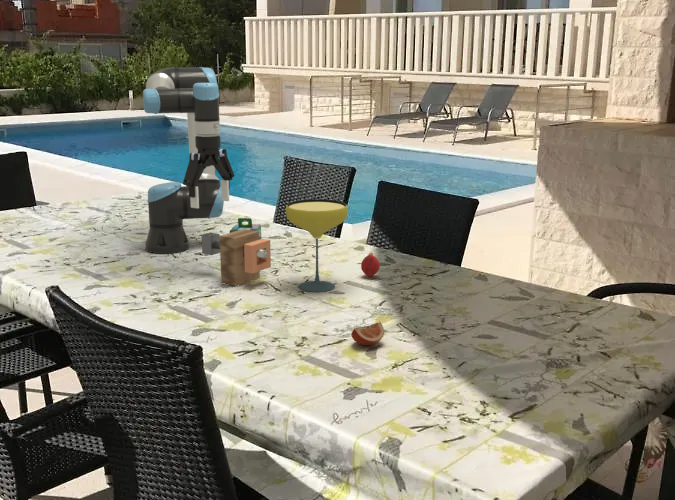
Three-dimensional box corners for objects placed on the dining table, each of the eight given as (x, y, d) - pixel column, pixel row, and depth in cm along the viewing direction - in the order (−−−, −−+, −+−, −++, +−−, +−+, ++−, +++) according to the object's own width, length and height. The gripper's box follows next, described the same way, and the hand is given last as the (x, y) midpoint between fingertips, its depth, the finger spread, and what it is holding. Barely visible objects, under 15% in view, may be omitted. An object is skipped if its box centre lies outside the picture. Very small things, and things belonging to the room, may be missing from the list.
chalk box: (262, 257, 261) (261, 214, 257) (257, 264, 252) (256, 220, 248) (236, 256, 262) (234, 214, 258) (230, 263, 253) (228, 220, 249)
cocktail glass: (340, 297, 217) (341, 212, 211) (279, 293, 221) (278, 209, 214) (352, 280, 234) (352, 200, 228) (295, 276, 238) (294, 198, 232)
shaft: (202, 253, 238) (201, 234, 236) (211, 250, 241) (210, 232, 239) (261, 265, 225) (260, 245, 223) (269, 262, 228) (269, 242, 226)
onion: (377, 280, 234) (378, 255, 232) (359, 279, 235) (359, 254, 233) (380, 275, 240) (381, 250, 238) (362, 274, 241) (363, 249, 239)
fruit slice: (372, 336, 188) (372, 317, 186) (390, 344, 183) (390, 325, 181) (345, 344, 183) (346, 324, 182) (363, 352, 178) (363, 332, 176)
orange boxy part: (244, 271, 226) (244, 244, 224) (263, 265, 233) (262, 238, 230) (252, 273, 224) (251, 245, 222) (270, 267, 231) (270, 240, 229)
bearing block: (221, 283, 231) (219, 235, 227) (245, 274, 239) (243, 229, 236) (236, 286, 227) (234, 238, 224) (259, 278, 236) (258, 231, 232)
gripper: (187, 139, 217) (190, 212, 222) (244, 132, 237) (246, 199, 242) (168, 138, 221) (172, 209, 226) (226, 130, 241) (228, 196, 246)
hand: (210, 204), depth 234 cm, fingers open, 13 cm apart
